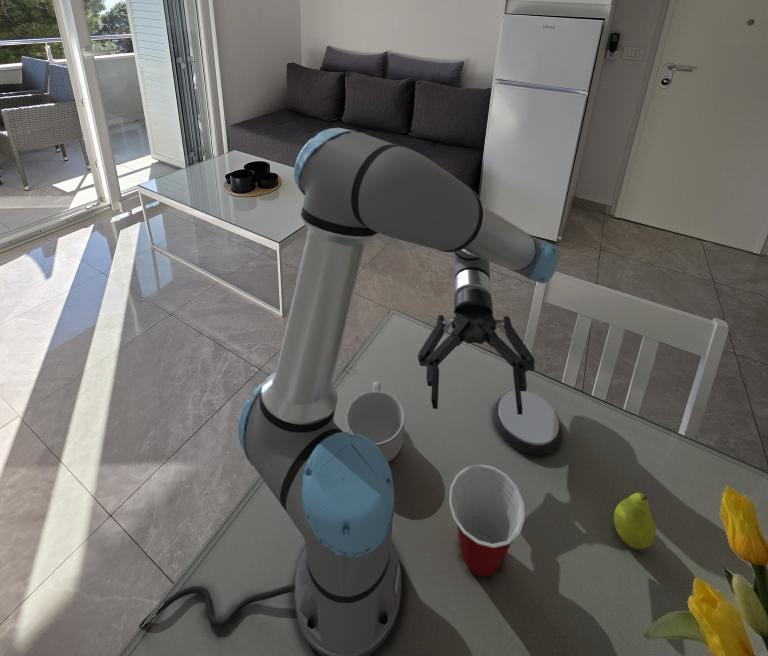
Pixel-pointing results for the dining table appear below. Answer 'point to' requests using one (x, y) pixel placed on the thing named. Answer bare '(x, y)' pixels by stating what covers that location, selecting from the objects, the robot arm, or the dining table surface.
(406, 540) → the dining table surface
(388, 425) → the teacup
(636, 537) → the fruit
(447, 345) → the robot arm
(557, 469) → the dining table surface
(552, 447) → the scale
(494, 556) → the plastic cup
